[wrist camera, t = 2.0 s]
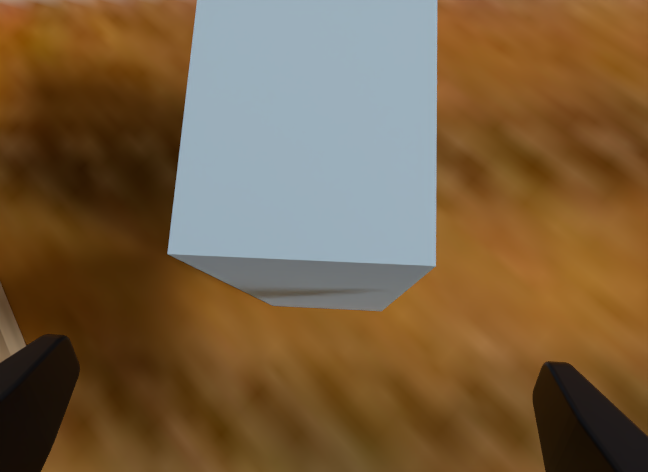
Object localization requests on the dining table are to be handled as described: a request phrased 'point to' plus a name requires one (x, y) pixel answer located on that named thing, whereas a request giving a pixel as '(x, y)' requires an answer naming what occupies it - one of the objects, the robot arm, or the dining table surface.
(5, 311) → the channel
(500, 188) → the dining table surface
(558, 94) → the dining table surface
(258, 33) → the light blue block
